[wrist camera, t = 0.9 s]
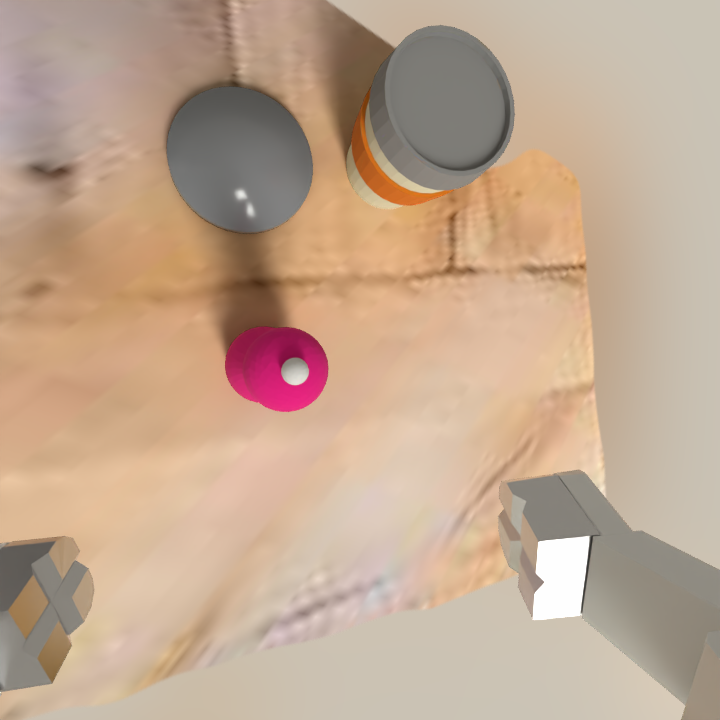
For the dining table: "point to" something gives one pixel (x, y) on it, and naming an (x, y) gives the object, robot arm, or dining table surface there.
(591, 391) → the dining table surface
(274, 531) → the dining table surface
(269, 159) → the plate
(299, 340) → the pepper mill
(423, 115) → the reusable coffee cup
